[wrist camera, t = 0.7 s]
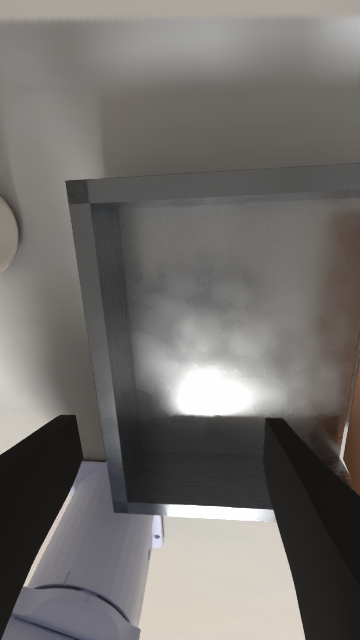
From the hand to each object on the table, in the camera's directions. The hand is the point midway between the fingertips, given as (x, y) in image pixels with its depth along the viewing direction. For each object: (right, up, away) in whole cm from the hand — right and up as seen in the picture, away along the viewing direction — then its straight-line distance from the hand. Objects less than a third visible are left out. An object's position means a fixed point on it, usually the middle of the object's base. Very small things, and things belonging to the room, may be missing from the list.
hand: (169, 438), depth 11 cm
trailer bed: (+4, +3, +10) cm, 11 cm away
